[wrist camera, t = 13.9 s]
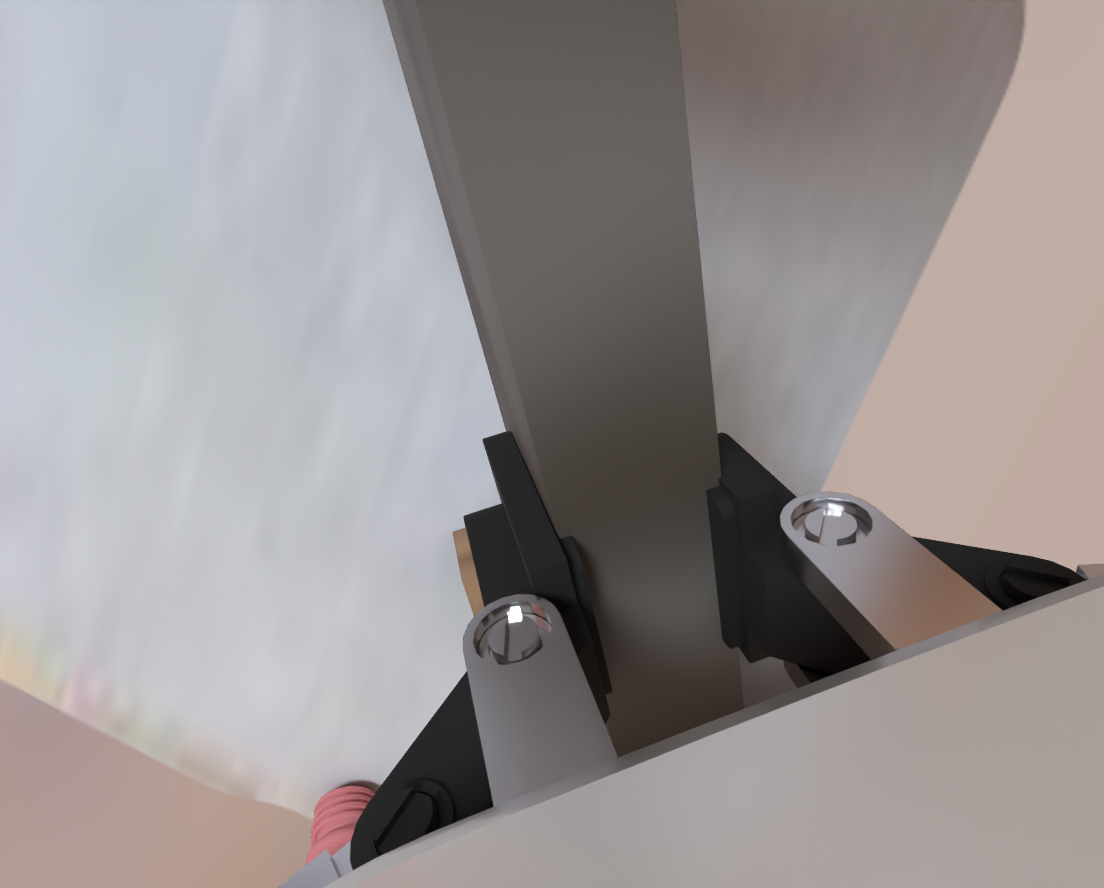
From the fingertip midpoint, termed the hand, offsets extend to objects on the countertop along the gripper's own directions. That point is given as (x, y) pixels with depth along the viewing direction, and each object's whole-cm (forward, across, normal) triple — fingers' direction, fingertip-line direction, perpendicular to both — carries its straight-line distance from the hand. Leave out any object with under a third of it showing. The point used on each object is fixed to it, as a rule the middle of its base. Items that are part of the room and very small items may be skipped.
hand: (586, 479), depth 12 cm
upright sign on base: (+1, 0, 0) cm, 1 cm away
